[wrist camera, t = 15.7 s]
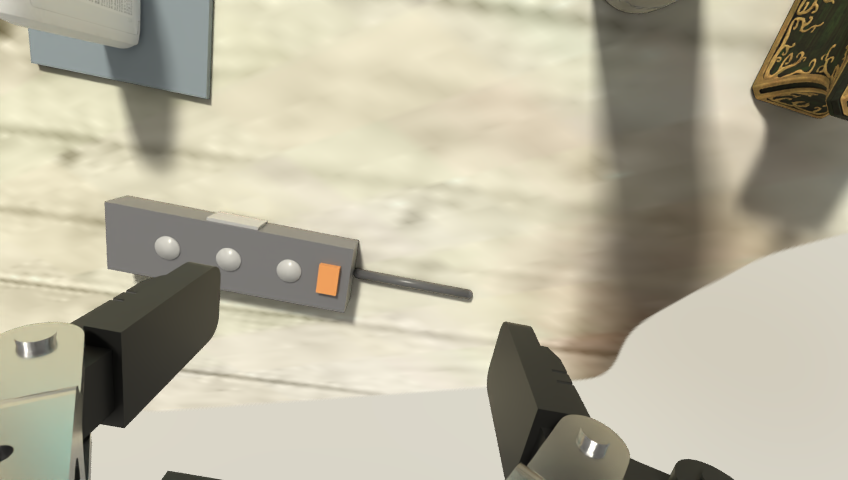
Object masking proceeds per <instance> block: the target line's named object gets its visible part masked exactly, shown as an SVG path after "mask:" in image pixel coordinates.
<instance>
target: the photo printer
mask: <svg viewBox="0 0 848 480" xmlns="http://www.w3.org/2000/svg"><path fill="white" fill-rule="evenodd" d="M0 18H1V19H3V20H5V21H7V22H9V23H12V24H14V25H18V26H22V27H26V28H30V29H35V30H39V31H44V32H48V33H53V34H57V35H62V36H66V37H71V38H75V39H80V40H84V41H89V42H93V43H98V44H102V45H107V46H111V47H116V48H122V49H125V48H130V47H132V46H134V45H137V44H138V41H139V35H140V0H0Z"/></svg>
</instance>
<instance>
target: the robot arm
mask: <svg viewBox="0 0 848 480" xmlns="http://www.w3.org/2000/svg"><path fill="white" fill-rule="evenodd" d="M606 1H607V2H608V3H609V4H610V5H612V6H613V7H615V8H616V9H618V10H621V11H624V12H627V13H636V14H640V13H647V12H651V11H654V10H657V9H659V8H662V7H664V6H666V5H669V4H671V3H673V2H675V1H677V0H606ZM220 282H221V273H220V270H219V268H218V267H215V266H210V265H205V264H199V263H194V262H186V263H184V264H183V265H181V266H180V267H178V268H176V269H175V270H173V271H171V272H170V273H168V274H167V275H161V276H158V277H155V278H151V279H148V280H145V281H142V282H140V283H138V284H137V285H135V286H133V287H132V288H130V289H128V290H127V291H126V293H125V292H123V293H121V294H120V295H118V296H116V297H114V299H113V300H109V301H108V302H106V303H104V304H102V305H101V306H99V307H97V308H96V309H94V310H92V311H91V312H89V313H87V314H85V315H84V316H82V317H80V318H79V319H77V320H75V321H73V322H72V323H63V322H45V323H36V324H30V325H26V326H22V327H18V328H15V329H12V330H9V331H6V332H4V333H2V334H0V480H91V479H90V478H91V450H92V441H91V432H92V431H93V430H94V429H95V428H96V427H97V426H98V425H99V424H103V425H109V426H115V427H121V428H125V427H126V426H127V425H128V424H129V423H130V422H131V421H132V420H133V419H134V418H135V417H136V416H137V415H138V414H139V413H140V412H141V410H142V409H143V408H144V407H145V406H146V405H147V404H148V403H149V402H150V401H151V400H152V399H153V398H154V397H155V396H156V395H157V394H158V393H159V392H160V391H161V390H162V389H163V388H164V387H165V386H166V385H167V384H168V383H169V382H170V381H171V380H172V379H173V378H174V377H175V375H176V374H177V373H178V372H179V371H180V370H181V369H182V368H183V367H184V366H185V365H186V364H187V363H188V362H189V361H190V360H191V359H192V358H193V357H194V356H195V355H196V354H197V353H198V352H199V351H200V350H201V349H202V348H203V347H204V346H205V345H206V344H207V343H208V342H209V340H210V339H211V338H212V336H213V335H214V332H215V330H216V328H217V324H218V319H219V302H220ZM487 391H488V397H489V401H490V407H491V412H492V416H493V422H494V427H495V431H496V437H497V441H498V447H499V451H500V457H501V462H502V467H503V472H504V477H505V480H734V479H732V478H731V477H730V476H728V475H727V474H725V473H723V472H722V471H720V470H718V469H717V468H715V467H713V466H711V465H708V464H706V463H703V462H700V461H697V460H691V459H684V460H681V461H678V462H677V463H676V465H675V467H674V469H673V471H672V473H671V475H669V474H666V473H664V472H661V471H659V470H657V469H654V468H652V467H649V466H647V465H644V464H642V463H640V462H637V461H635V460H633V459H631V458H630V454H629V450H628V448H627V446H626V445H625V443H624V442H623V440H622V439H621V438H620V437H619V436H618V435H617V434H616V433H615V432H614V431H613V430H611V429H610V428H609V427H607V426H605V425H604V424H602V423H601V422H599V421H597V420H595V419H592V418H590V416H589V414H588V412H587V410H586V408H585V406H584V404H583V402H582V400H581V398H580V396H579V394H578V392H577V390H576V389H575V387H574V386H573V385H572V381H571V379H570V377H569V375H567V371H566V369H565V367H564V365H563V364H562V362H561V360H560V359H559V358H558V357H557V356H556V355H555V354H554V353H553V352H552V351H551V350H550V349H549V348H548V347H544V346H540V344H539V342H538V340H537V337H536V335H535V333H534V331H533V329H532V327H531V326H526V325H521V324H515V323H510V322H504V323H503V324H502V326H501V329H500V332H499V336H498V339H497V342H496V346H495V349H494V353H493V356H492V360H491V363H490V367H489V371H488V377H487ZM162 480H220V479H214V478H208V477H202V476H196V475H190V474H184V473H178V472H172V471H167V473H166V474H165V476H164V477H163V478H162Z"/></svg>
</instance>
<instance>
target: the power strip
mask: <svg viewBox="0 0 848 480" xmlns="http://www.w3.org/2000/svg"><path fill="white" fill-rule="evenodd" d="M105 221H106V243H107V266H108V269H111V270H117V271H122V272H128V273H133V274H138V275H144V276H149V277H158V276H161V275H167V274H168V273H170V272H171V271H173V270H175V269H176V268H178V267H180V266H181V265H183V264H184V263H186V262H194V263H199V264H205V265H210V266H215V267H218V268H219V270H220V273H221V282H220V290H225V291H230V292H235V293H241V294H246V295H251V296H257V297H262V298H268V299H273V300H278V301H284V302H289V303H295V304H300V305H305V306H311V307H316V308H321V309H327V310H332V311H338V312H343V313H344V312H345V309H346V307H347V305H348V302H349V300H350V294H351V288H352V281H353V275H354V277H356V278H359V279H365V280H370V281H375V282H380V283H386V284H391V285H396V286H402V287H407V288H412V289H417V290H423V291H428V292H433V293H438V294H444V295H449V296H454V297H460V298H465V299H470V298H472V296H473V293H472V291H471V290H468V289H462V288H457V287H452V286H447V285H441V284H436V283H431V282H426V281H420V280H415V279H410V278H405V277H399V276H394V275H389V274H384V273H378V272H373V271H368V270H363V269H355V262H356V256H357V250H358V243H359V240H355V239H349V238H344V237H339V236H334V235H329V234H324V233H318V232H313V231H308V230H303V229H298V228H293V227H287V226H282V225H277V224H272V223H268V221H266V220H261V219H256V218H250V217H245V216H240V215H235V214H230V213H225V212H217V213H215V212H210V211H205V210H200V209H194V208H189V207H184V206H179V205H174V204H169V203H163V202H158V201H153V200H148V199H143V198H138V197H133V196H124V197H120V198H116V199H113V200H109V201H105ZM354 269H355V270H354Z"/></svg>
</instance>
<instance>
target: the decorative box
mask: <svg viewBox="0 0 848 480" xmlns="http://www.w3.org/2000/svg"><path fill="white" fill-rule="evenodd" d="M752 88H753V91H754V95H755V98H756V99H758V100H762V101H765V102H768V103H771V104H774V105H777V106H780V107H783V108H787V109H790V110H793V111H796V112H799V113H802V114H805V115H809V116H812V117H815V118H824V117H826V116H828V115H831V116H835V117H838V118H841V119H844V120H847V121H848V0H795V2H794V4H793V6H792V8H791V10H790V12H789V14H788V16H787V18H786V20H785V22H784V24H783V26H782V28H781V30H780V32H779V34H778V36H777V38H776V40H775V42H774V44H773V46H772V48H771V50H770V52H769V54H768V56H767V58H766V60H765V62H764V64H763V66H762V68H761V70H760V72H759V74H758V76H757V78H756V80H755V82H754V84H753V86H752Z"/></svg>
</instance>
